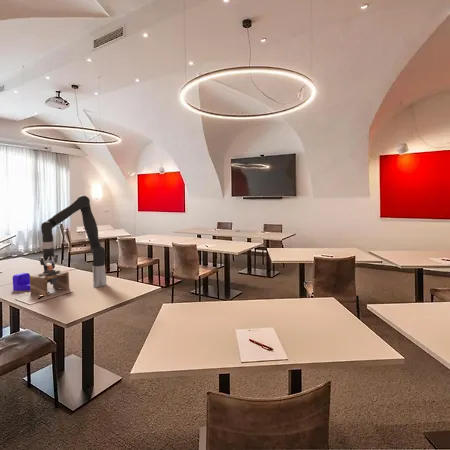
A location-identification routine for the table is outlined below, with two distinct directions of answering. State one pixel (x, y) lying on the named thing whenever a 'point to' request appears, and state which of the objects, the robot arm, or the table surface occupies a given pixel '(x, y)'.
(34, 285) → the shelf rack
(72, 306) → the table surface
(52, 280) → the dark grey orange block
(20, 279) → the bracket
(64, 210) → the robot arm
